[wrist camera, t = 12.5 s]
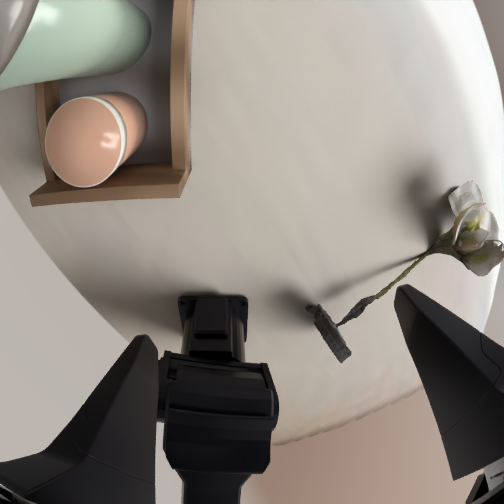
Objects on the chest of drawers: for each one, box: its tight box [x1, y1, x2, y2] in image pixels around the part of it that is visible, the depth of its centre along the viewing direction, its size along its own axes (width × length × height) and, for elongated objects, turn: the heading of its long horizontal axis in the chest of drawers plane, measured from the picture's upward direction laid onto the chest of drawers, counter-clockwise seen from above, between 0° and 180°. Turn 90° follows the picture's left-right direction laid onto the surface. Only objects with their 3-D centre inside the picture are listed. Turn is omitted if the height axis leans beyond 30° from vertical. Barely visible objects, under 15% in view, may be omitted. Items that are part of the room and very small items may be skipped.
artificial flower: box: [305, 180, 504, 363], centre depth 22 cm, size 9×22×10 cm, turn 124°
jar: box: [45, 92, 148, 187], centre depth 14 cm, size 5×5×5 cm
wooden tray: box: [29, 0, 194, 207], centre depth 12 cm, size 15×11×5 cm
